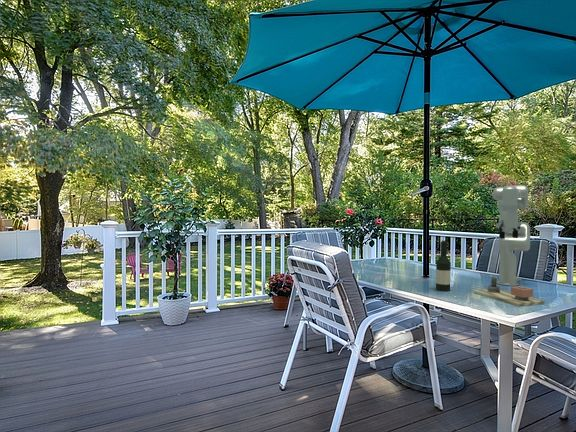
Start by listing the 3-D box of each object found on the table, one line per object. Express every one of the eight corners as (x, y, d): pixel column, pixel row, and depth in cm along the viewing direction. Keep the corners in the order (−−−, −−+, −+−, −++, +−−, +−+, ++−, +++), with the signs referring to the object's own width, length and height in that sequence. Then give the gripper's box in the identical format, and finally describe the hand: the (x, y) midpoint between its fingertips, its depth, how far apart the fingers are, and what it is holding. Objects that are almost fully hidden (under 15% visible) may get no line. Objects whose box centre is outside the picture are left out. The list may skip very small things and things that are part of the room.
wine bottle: (440, 287, 229) (440, 239, 228) (453, 290, 222) (454, 240, 221) (432, 289, 224) (433, 240, 223) (446, 292, 217) (446, 241, 216)
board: (497, 290, 221) (497, 275, 221) (545, 303, 192) (545, 285, 192) (473, 292, 216) (473, 276, 216) (518, 306, 187) (518, 287, 187)
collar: (521, 293, 200) (521, 286, 200) (532, 296, 193) (533, 289, 193) (510, 294, 198) (511, 287, 198) (522, 297, 191) (522, 290, 191)
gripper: (515, 208, 219) (514, 237, 219) (492, 208, 214) (491, 238, 214) (526, 208, 212) (525, 238, 212) (502, 208, 207) (502, 239, 207)
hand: (508, 238), depth 213 cm, fingers open, 9 cm apart
